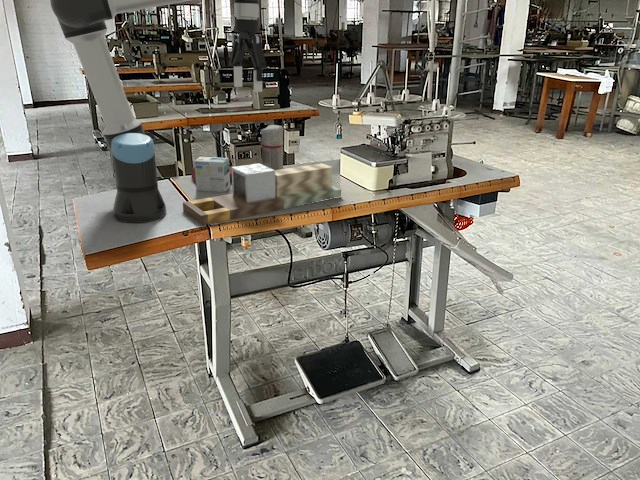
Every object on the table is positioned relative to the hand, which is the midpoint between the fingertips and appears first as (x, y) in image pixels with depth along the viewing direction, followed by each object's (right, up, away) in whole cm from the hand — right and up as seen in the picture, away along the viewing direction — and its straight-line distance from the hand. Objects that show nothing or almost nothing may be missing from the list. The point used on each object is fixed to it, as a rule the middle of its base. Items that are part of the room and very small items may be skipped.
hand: (247, 89), depth 170 cm
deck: (+6, -38, 0) cm, 38 cm away
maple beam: (+17, -32, +6) cm, 37 cm away
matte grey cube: (+2, -36, -3) cm, 36 cm away
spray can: (+6, -26, +28) cm, 39 cm away
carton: (-11, -26, +26) cm, 39 cm away
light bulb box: (-14, -31, +14) cm, 37 cm away
